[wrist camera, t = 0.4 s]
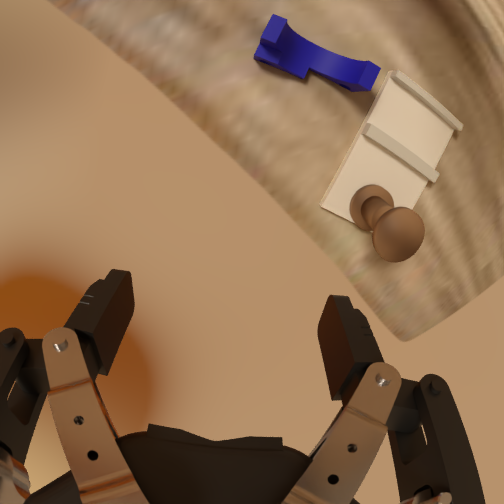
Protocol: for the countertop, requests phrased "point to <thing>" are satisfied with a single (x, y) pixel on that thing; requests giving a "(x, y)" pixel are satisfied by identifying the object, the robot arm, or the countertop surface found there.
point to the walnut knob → (387, 223)
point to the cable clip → (311, 58)
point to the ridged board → (394, 146)
